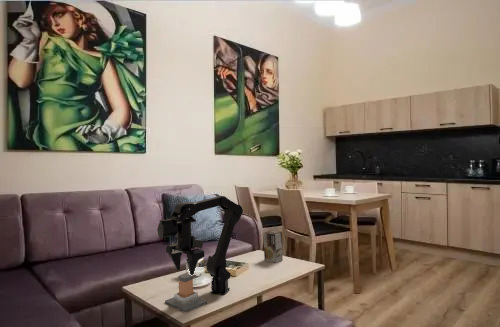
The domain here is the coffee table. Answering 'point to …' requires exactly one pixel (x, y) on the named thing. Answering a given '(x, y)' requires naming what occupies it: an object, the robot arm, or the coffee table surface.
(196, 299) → the collar
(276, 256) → the coffee box
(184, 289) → the orange block
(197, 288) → the coffee table surface
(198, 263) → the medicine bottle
